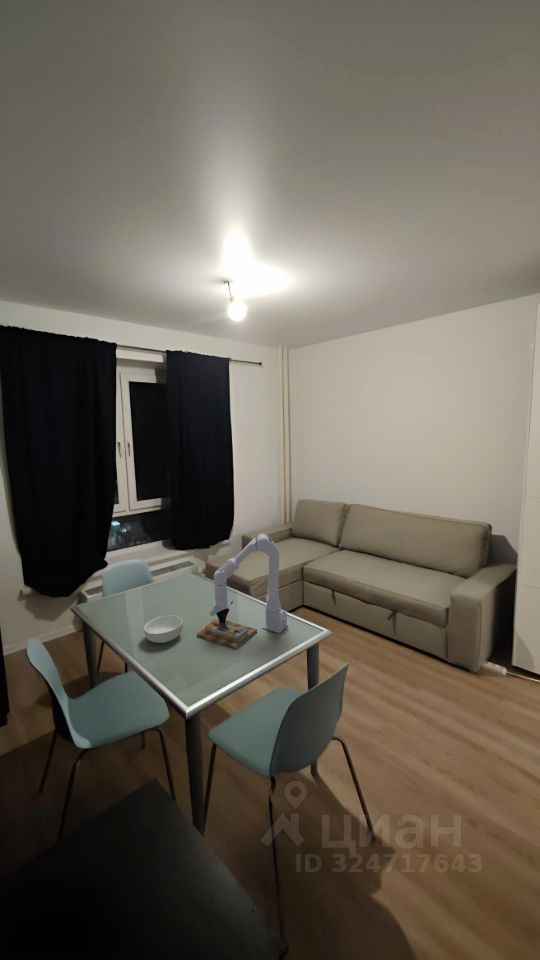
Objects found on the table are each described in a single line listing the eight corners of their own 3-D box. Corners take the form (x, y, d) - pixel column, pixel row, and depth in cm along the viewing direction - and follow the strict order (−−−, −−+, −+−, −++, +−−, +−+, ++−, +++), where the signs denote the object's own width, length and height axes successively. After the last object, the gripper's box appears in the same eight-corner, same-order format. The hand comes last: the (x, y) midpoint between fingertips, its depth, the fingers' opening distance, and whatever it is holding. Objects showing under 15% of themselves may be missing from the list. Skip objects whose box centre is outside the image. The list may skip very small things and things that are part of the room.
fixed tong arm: (248, 635, 169) (247, 629, 168) (238, 643, 163) (238, 636, 162) (215, 625, 178) (215, 619, 178) (205, 632, 173) (205, 626, 172)
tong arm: (243, 636, 168) (243, 629, 168) (240, 638, 166) (239, 632, 166) (214, 625, 179) (214, 619, 178) (210, 627, 177) (210, 621, 176)
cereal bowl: (169, 625, 184) (168, 611, 183) (191, 636, 173) (190, 621, 172) (137, 640, 171) (136, 625, 170) (159, 653, 160) (158, 637, 159)
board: (257, 632, 174) (256, 629, 174) (235, 649, 161) (235, 646, 160) (219, 621, 186) (219, 618, 186) (196, 636, 172) (196, 633, 172)
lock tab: (236, 630, 167) (236, 628, 166) (231, 634, 164) (231, 632, 163) (231, 628, 168) (231, 626, 168) (226, 632, 165) (225, 630, 165)
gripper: (224, 588, 183) (225, 615, 185) (203, 600, 171) (205, 629, 173) (236, 591, 179) (237, 619, 181) (216, 603, 167) (217, 633, 169)
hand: (222, 624), depth 177 cm, fingers closed
